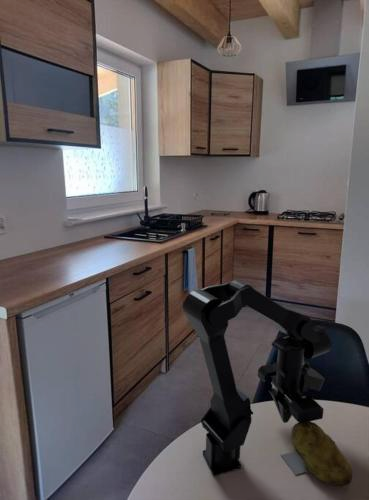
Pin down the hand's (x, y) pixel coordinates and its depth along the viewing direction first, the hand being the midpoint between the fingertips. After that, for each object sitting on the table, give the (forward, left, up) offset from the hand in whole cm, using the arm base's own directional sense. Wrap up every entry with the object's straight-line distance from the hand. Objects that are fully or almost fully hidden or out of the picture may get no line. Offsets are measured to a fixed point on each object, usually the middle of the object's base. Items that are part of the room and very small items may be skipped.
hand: (285, 421), depth 85 cm
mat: (0, -9, -3) cm, 9 cm away
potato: (0, -12, -3) cm, 12 cm away
